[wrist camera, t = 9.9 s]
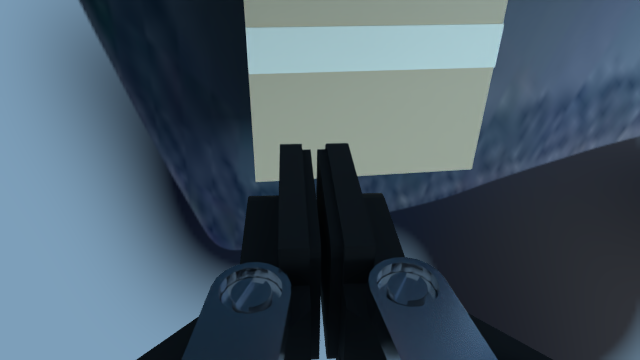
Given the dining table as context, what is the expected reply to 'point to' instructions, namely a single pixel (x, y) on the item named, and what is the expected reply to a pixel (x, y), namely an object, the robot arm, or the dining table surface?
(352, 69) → the lid
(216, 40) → the dining table surface
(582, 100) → the dining table surface
